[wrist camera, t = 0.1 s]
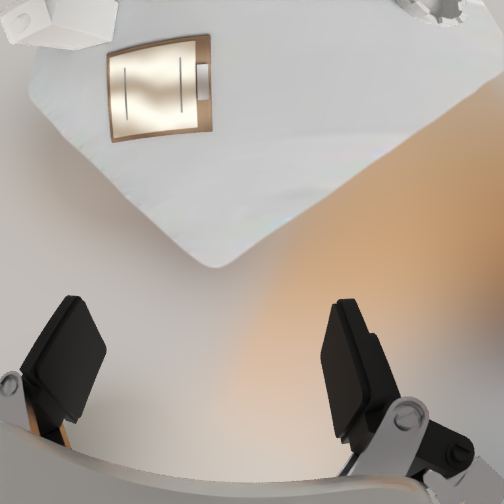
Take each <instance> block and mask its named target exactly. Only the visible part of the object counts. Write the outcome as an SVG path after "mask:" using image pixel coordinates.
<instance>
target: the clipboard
mask: <svg viewBox="0 0 504 504" xmlns="http://www.w3.org/2000/svg"><path fill="white" fill-rule="evenodd" d="M107 79H108V102H109V117H110V128H111V138H112V143H115V142H121V141H127V140H134V139H140V138H148V137H156V136H164V135H173V134H184V133H196V132H212V131H213V130H212V100H211V44H210V35H204V36H195V37H187V38H180V39H173V40H167V41H162V42H156V43H151V44H147V45H142V46H138V47H134V48H129V49H126V50H122V51H118V52H115V53H111V54H108V55H107Z"/></svg>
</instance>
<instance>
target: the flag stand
mask: <svg viewBox="0 0 504 504" xmlns="http://www.w3.org/2000/svg"><path fill="white" fill-rule="evenodd" d="M396 1H397V3H398V4H399V5H400V6H401V8H403V9H404V10H405V11H406V12H407V13H408V14H409V15H411V16H412V17H413V18H415V19H417V20H419V21H421V22H423V23H427V24H433V25H436V26H440V27H450V26H455V25H457V24H458V23H463V22H464V21H465V19H466V17H467V14H466V13H465V12H464V11H463V4H467V3H466V0H396Z"/></svg>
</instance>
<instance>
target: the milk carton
mask: <svg viewBox="0 0 504 504" xmlns="http://www.w3.org/2000/svg"><path fill="white" fill-rule="evenodd" d="M118 4H119V2H117V1H115V0H17V1H16V2H15V3H13V4H12V5H10V6H8V7H7V8H5V9H4V10H3V11H1V12H0V22H1V24H2V26H3V29H4V31H5V33H6V35H7V38H8V40H9V42H10V44H15V45H31V46H32V45H33V46H43V47H52V48H60V49H68V50H74V51H76V50H80V49H84V48H87V47H91V46H95V45H99V44H103V43H108V42H112V41H113V35H114V28H115V21H116V15H117V10H118Z"/></svg>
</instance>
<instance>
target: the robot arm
mask: <svg viewBox="0 0 504 504" xmlns="http://www.w3.org/2000/svg"><path fill="white" fill-rule="evenodd" d="M105 355H106V345H105V343H104V341H103V339H102V337H101V335H100V333H99V331H98V329H97V327H96V325H95V323H94V321H93V319H92V317H91V315H90V312H89V310H88V308H87V306H86V303H85V302H84V301H83V300H82V299H81V297H79V296H70V295H68V296H66V297H65V298H64V300H63V301H62V303H61V304H60V305H59V307H58V308H57V310H56V311H55V313H54V314H53V315H52V317H51V318H50V320H49V321H48V323H47V325H46V326H45V328H44V329H43V331H42V332H41V334H40V335H39V337H38V339H37V340H36V342H35V343H34V345H33V347H32V348H31V350H30V352H29V354H28V356H27V357H26V359H25V361H24V362H23V364H22V366H21V368H20V371H21V372H22V373H23V375H22V377H21V375H20V374H19V373H17V372H15V371H10V372H7V373H6V374H4V375H3V376H2V377H1V379H0V504H433V503H432V500H431V498H430V496H429V494H428V492H427V490H426V488H430V489H431V490H432V491H433V492H434V493H435V494H436V495H435V497H436V498H437V499H438V500H439V502H440V503H441V504H500V503H501V502H502V500H503V498H504V479H503V478H502V477H501V476H500V475H499V474H497V472H496V471H495V470H493V468H492V467H490V466H489V465H488V464H487V463H486V462H485V461H484V460H483V459H482V458H481V457H480V456H478V457H477V458H476V457H475V456H474V453H475V452H474V446H473V443H472V442H471V441H470V439H468V438H467V437H465V436H463V435H461V434H459V433H457V432H454V431H452V430H450V429H448V428H446V427H444V426H442V425H440V424H438V423H436V422H434V421H432V420H430V419H429V412H428V410H427V407H426V406H425V405H424V404H423V402H422V401H420V400H418V399H417V398H414V397H402V398H401V396H400V393H399V390H398V387H397V385H396V382H395V379H394V377H393V374H392V372H391V369H390V366H389V364H388V361H387V359H386V356H385V354H384V352H383V349H382V346H381V345H380V342H379V339H378V337H377V335H376V334H374V333H369V331H368V329H367V326H366V324H365V322H364V319H363V317H362V314H361V312H360V310H359V307H358V305H357V303H356V301H355V299H339V300H338V301H337V304H333V305H332V307H331V312H330V316H329V321H328V326H327V329H326V334H325V338H324V342H323V346H322V350H321V364H322V369H323V374H324V378H325V383H326V389H327V393H328V399H329V403H330V409H331V414H332V420H333V425H334V430H335V435H336V437H337V438H341V443H342V444H346V443H350V447H351V451H352V452H353V453H352V455H351V456H350V458H349V459H348V461H347V462H346V464H345V465H344V466H343V468H342V469H341V471H340V472H339V474H338V475H337V476H336V477H333V478H323V479H314V480H304V481H291V482H270V483H234V482H215V481H204V480H194V479H186V478H179V477H172V476H166V475H160V474H155V473H150V472H145V471H140V470H136V469H132V468H128V467H124V466H120V465H117V464H113V463H109V462H106V461H103V460H100V459H97V458H94V457H90V456H88V455H85V454H82V453H79V452H77V451H74V450H72V448H71V445H70V442H69V440H68V437H67V434H66V431H65V428H64V425H63V419H65V420H66V421H69V422H72V423H75V424H76V423H77V420H78V418H80V417H81V415H82V413H83V410H84V407H85V405H86V402H87V399H88V396H89V394H90V391H91V389H92V386H93V384H94V381H95V379H96V376H97V374H98V371H99V369H100V367H101V364H102V362H103V359H104V357H105Z"/></svg>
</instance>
